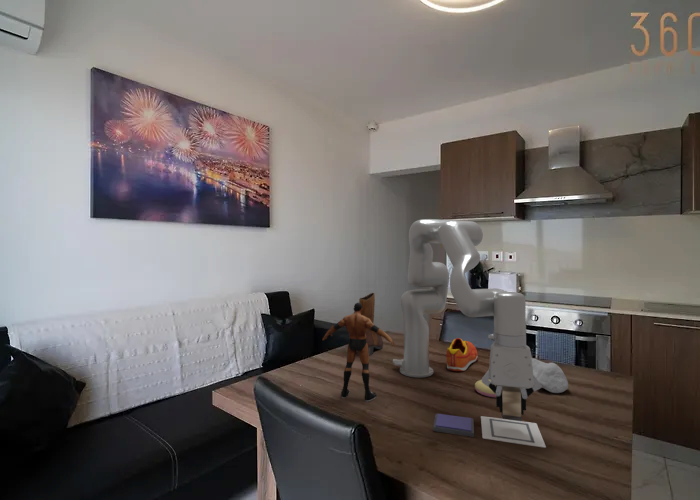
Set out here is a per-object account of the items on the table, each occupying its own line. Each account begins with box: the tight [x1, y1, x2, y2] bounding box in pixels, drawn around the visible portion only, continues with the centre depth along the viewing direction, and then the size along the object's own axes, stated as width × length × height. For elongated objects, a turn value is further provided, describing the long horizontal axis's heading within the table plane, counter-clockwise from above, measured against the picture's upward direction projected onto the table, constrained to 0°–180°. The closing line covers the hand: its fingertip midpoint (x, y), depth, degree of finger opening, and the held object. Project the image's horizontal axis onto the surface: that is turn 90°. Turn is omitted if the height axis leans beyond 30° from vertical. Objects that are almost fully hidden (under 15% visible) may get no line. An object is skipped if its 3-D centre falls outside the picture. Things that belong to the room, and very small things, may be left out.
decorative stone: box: [532, 357, 569, 394], centre depth 121 cm, size 17×10×10 cm
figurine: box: [322, 302, 396, 402], centre depth 113 cm, size 24×6×30 cm, turn 71°
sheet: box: [480, 415, 547, 449], centre depth 91 cm, size 14×12×1 cm
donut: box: [474, 379, 496, 399], centre depth 116 cm, size 10×5×9 cm
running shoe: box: [445, 337, 479, 372], centre depth 147 cm, size 10×28×11 cm, turn 154°
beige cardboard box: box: [500, 386, 523, 421], centre depth 91 cm, size 4×4×7 cm
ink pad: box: [432, 413, 475, 438], centre depth 93 cm, size 10×8×1 cm
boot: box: [357, 292, 384, 357], centre depth 167 cm, size 25×9×27 cm, turn 152°
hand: (510, 410), depth 91 cm, fingers closed on beige cardboard box, 4 cm apart
